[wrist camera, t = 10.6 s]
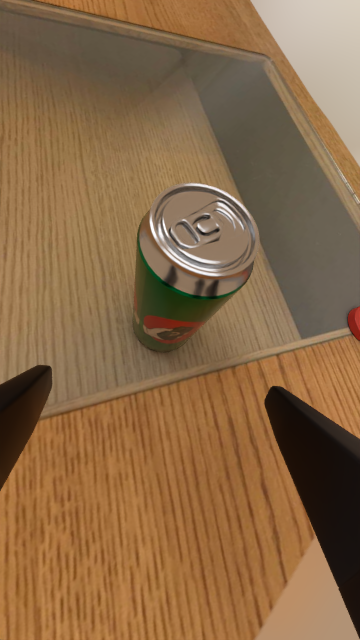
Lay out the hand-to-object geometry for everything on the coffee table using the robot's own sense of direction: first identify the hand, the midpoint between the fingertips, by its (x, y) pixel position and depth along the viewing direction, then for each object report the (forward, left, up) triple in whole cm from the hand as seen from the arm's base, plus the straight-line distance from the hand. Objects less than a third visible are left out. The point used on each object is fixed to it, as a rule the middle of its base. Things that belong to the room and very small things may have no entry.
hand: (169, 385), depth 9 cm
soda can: (+5, -3, -9) cm, 11 cm away
